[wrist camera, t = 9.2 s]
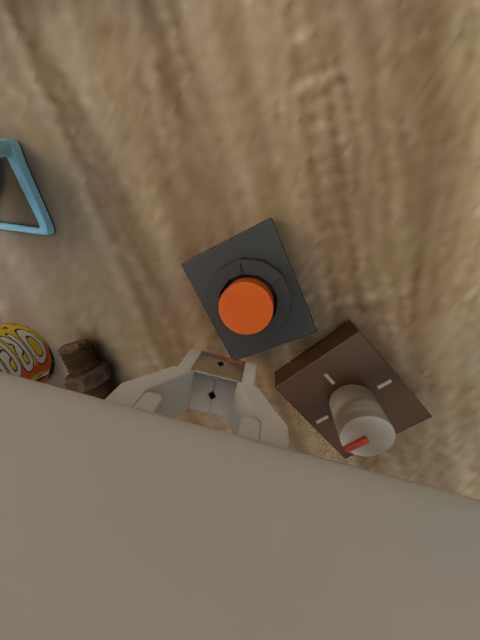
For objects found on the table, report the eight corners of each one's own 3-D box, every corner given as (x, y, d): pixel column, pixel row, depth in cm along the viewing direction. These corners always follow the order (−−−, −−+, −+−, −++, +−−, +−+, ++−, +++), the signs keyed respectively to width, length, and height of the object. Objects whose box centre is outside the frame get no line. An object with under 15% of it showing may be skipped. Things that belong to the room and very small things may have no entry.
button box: (313, 321, 25) (320, 339, 21) (236, 349, 27) (229, 371, 23) (271, 219, 22) (270, 215, 18) (190, 260, 24) (173, 266, 20)
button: (281, 315, 21) (282, 323, 19) (236, 332, 22) (233, 342, 20) (261, 268, 20) (259, 272, 18) (214, 289, 21) (208, 295, 19)
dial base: (415, 397, 26) (433, 417, 23) (338, 437, 29) (345, 460, 26) (349, 319, 24) (360, 331, 21) (274, 372, 27) (274, 389, 25)
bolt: (100, 330, 31) (142, 423, 35) (57, 344, 30) (106, 439, 34) (89, 341, 26) (140, 450, 30) (36, 359, 24) (97, 470, 28)
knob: (357, 376, 23) (377, 410, 18) (384, 406, 24) (408, 445, 19) (319, 398, 24) (329, 435, 20) (345, 426, 25) (360, 467, 21)
